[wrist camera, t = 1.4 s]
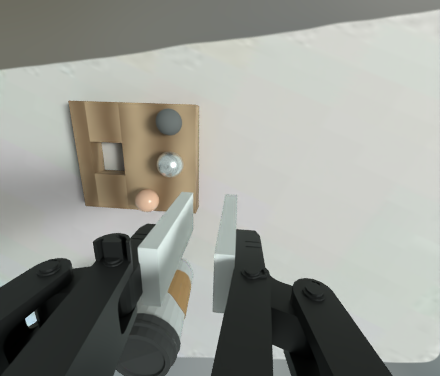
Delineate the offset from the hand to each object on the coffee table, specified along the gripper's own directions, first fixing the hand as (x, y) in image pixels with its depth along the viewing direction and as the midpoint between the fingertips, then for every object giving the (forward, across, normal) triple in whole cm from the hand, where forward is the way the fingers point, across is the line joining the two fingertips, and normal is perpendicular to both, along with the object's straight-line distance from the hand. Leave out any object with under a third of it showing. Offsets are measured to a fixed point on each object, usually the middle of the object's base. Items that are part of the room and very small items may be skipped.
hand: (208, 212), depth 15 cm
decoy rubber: (+14, -7, +5) cm, 17 cm away
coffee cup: (+19, -8, -20) cm, 29 cm away
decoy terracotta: (+14, -10, -5) cm, 19 cm away
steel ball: (+14, -7, 0) cm, 16 cm away
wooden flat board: (+18, -12, 0) cm, 22 cm away
